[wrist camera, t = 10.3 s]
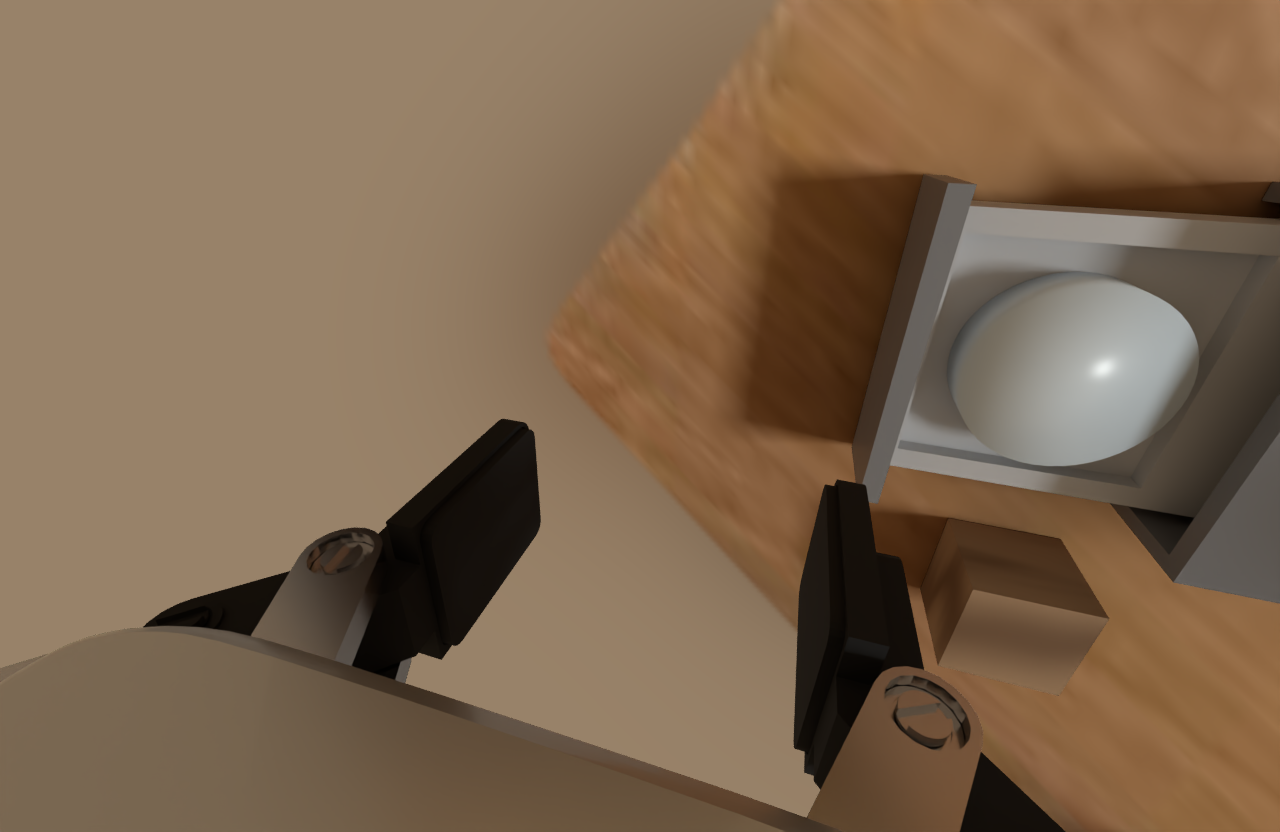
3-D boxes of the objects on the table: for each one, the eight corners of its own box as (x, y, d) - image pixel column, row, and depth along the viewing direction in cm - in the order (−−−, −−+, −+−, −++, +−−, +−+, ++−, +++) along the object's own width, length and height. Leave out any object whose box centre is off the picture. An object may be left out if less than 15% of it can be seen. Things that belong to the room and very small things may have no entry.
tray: (1349, 195, 17) (1499, 212, 14) (1159, 498, 23) (1227, 569, 19) (923, 174, 20) (948, 182, 17) (851, 447, 26) (857, 499, 22)
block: (1022, 611, 28) (1058, 695, 24) (920, 588, 29) (937, 665, 25) (1060, 539, 26) (1109, 619, 21) (948, 518, 27) (973, 589, 23)
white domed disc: (1114, 453, 21) (1139, 480, 20) (926, 426, 23) (934, 450, 21) (1205, 280, 18) (1246, 295, 16) (977, 264, 20) (992, 276, 18)
